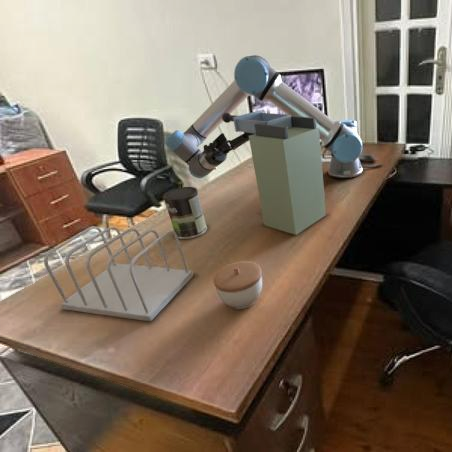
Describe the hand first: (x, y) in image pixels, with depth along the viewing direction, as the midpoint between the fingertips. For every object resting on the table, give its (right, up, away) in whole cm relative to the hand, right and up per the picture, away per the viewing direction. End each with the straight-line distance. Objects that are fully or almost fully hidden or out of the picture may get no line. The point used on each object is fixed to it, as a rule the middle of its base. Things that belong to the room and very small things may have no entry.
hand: (240, 132), depth 117 cm
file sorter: (-20, -49, -28) cm, 60 cm away
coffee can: (-16, -33, 0) cm, 37 cm away
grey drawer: (+5, 0, -4) cm, 6 cm away
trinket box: (+10, -49, -33) cm, 60 cm away
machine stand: (+18, -29, +2) cm, 35 cm away
